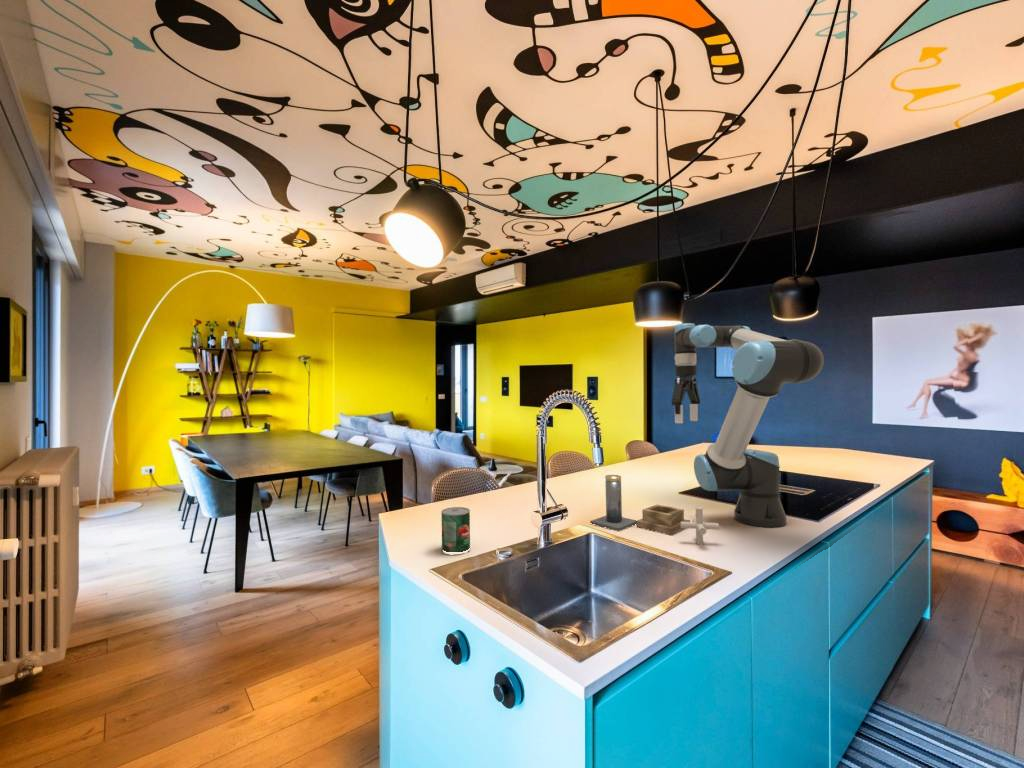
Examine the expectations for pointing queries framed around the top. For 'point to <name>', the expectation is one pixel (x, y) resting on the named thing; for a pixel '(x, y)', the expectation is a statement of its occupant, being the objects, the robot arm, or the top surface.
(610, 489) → the peg
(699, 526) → the pipe connector
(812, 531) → the top surface
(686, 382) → the robot arm
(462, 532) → the canned tomato
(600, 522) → the pad
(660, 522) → the block
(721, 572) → the top surface
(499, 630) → the top surface
